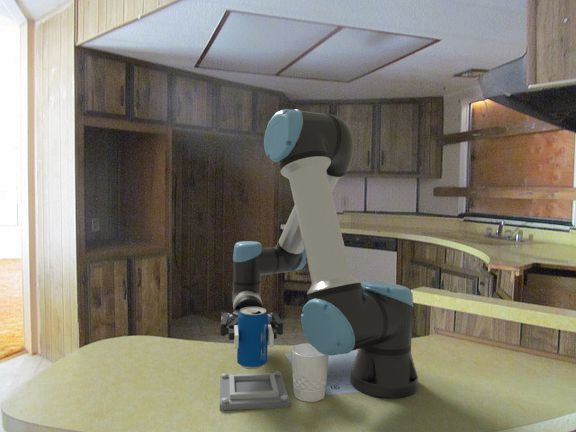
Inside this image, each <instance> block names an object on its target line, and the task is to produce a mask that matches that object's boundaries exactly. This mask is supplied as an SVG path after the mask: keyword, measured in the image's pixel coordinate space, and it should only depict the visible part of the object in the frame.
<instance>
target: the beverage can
mask: <svg viewBox="0 0 576 432" xmlns="http://www.w3.org/2000/svg"><path fill="white" fill-rule="evenodd" d="M266 312H267V309H266V308H264V307H263V308H261V307H245V308H242V309H240V313H239V315H238V334H239V343H238V348H236V349H237V350H236V351H237V353H236V354H237V355H236V359H237V360H236V363H237V364H238V365H239V366H240V367H241V368H243V369H245V370H258V369H260V368H263V367H264V366H265V365H266V364H267V363H268V346H269V343H268V315H267V314H268V312H267V313H266Z"/></svg>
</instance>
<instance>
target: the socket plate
mask: <svg viewBox="0 0 576 432" xmlns="http://www.w3.org/2000/svg"><path fill="white" fill-rule="evenodd" d="M219 382H220V383H219V385H220V386H219V387H220V388H219V411H236V410H255V409H257V410H258V409H259V410H260V409H277V408H279V409H280V408H290V398H289V395H288V391H287V389H286V385H285V381H284V378H283V375H282V373H281V371H274V372H267V373H266V372H264V373H263V372H262V373H261V372H260V373H235V374H229V373H222V374H221V375H220V380H219Z"/></svg>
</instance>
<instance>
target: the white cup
mask: <svg viewBox="0 0 576 432" xmlns="http://www.w3.org/2000/svg"><path fill="white" fill-rule="evenodd" d="M328 366H329V355H324V354H322V353H320V352H319V351H317V350H316V348H315V347H313V346H312V345H311V344H310V343H300V344H296V345H294V346H293V347H292V348H291V367H292V369H291V370H292V371H291V372H292V383H293V384H292V386H293V388H292V389H293V391H292V393H293V396H294V397H295V398H296V399H297V400H299V401H303V402H307V403H315V402H318V401H322V399H324V398H325V396H326V395H325V394H326V385H327V379H328Z"/></svg>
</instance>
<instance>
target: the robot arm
mask: <svg viewBox="0 0 576 432" xmlns="http://www.w3.org/2000/svg"><path fill="white" fill-rule="evenodd" d="M263 138H264V139H263V149H264V152H265V155H266V157H267V158H269V160H270V161H271V162H274V163H278V167H279V170H280V175H282V176H283V177H284V178H286V179H287V180H289V181H288V182H289V186H290V189H291V194H292V198H293V202H294V206H293V207H292V209H291V213H290V215H289V217H288V219H287V221H286V224H285V226H284V228H283V231H282V233H281V235H280V237H279V240H278V242H276V243H277V244H276V245H275V246H271V247H262V246H263V245H262V244H261V242H259V241H253V240H252V241H251V240H248V241H247V240H245V241H244V240H243V241H237V242H236V243H235V244H234V247H233V255H232V260H233V266H232V267H233V271H232V272H233V280H232V292H231V293H232V295H231V300H232V304H233V305H232V307H233V312H232V313H229V312H226V311H222V312H221V320H220V327H219V329H220V333H219V334H220V336H221V337H223V336H226V335H228V340H229V341H234V342H233V343H234V349H237V348H238V343H239V334H238V315H239V313H240V309H242V308H245V307H261V308H264V305H263V304H264V303H263V302H262V298H261V291H262V290H261V285H262V276H267V275H273V274H283V273H293V272H295V271H300V270H303V268H305V265H306V264H307V265H308V266H307V267H308V271H309V275H310V281H311V285H310V287H309V289H308V290H307V292H306V295H307V300H308V301H307V302H306V303H305V304H304V305H303V308H302V310H301V311H302V313H301V315H300V321H301V327H302V330H303V334H304V335H305V338H306V339H307V342H309V343H310V344H311V345H312V346H313V347H315V348H316V350H317V351H319V352H320V353H322V354H324V355H328V357H329V356H338V355H345V354H349V353H351V352H353V351H357V352H356V355H355V358H354V360H353V363H352V367H351V368H350V378H349V379H350V380H349V381H350V384H351V385H352V386H353V387H354V388H355V389H356V390H357V391H359V392H362V393H363V394H366V395H370V396H372V397H378V398H387V399H388V398H391V399H397V398H399V399H400V398H405V397H409V396H411V395H413V394H414V393H416V392H417V391H418V388H419V377H418V373H417V370H416V365H415V363H414V359H413V355H412V338H413V336H412V335H413V333H412V332H413V313H414V312H413V310H414V298H413V297H414V296H413V292H412V290H411V289H410V288H408V287H407V286H404V285H400V284H396V283H392V282H386V281H385V282H384V281H377V280H376V281H374V280H364V281H362V282H361V281H360V280H359V279H358V278H356V277H354V276H353V275H352V272H351V269H350V264H349V260H348V254H347V251H346V247H345V243H344V238H343V234H342V230H341V227H340V226H341V225H340V222H339V216H338V213H337V210H336V206H335V202H334V196H333V194H332V193H333V191H334V189H335V187H336V185H337V183H338V181H339V180H340V179H342V178H344V177H345V176H346V174H347V172H348V170H349V167H350V165H351V162H352V159H353V156H354V152H355V151H354V149H355V148H354V144H355V142H354V141H355V140H354V136H353V133H352V130H351V129H350V127H349V125H348V124H347V122H346V121H345V120H344V119H342V118H341V117H339V116H337V115H334V114H330V113H321V112H320V113H318V112H313V111H312V112H311V111H304V110H300V109H299V108H298V109H297V108H295V109H286V108H285V109H281V110H279V111H277V112H275V113H274V115H273V116H272V117H271V119H270V120H269V121H268V123H267V126H266V129H265V132H264V137H263ZM266 313H267V315H268V346H269V348H274V345H275V344H274V341H275V339H276V340H277V338H278V335H280V336H282V335H284V322H283V321H282V320H281V318H280V316H279V311H276V310H274V311H272V312H270V313H268V312H267V311H266Z"/></svg>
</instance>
